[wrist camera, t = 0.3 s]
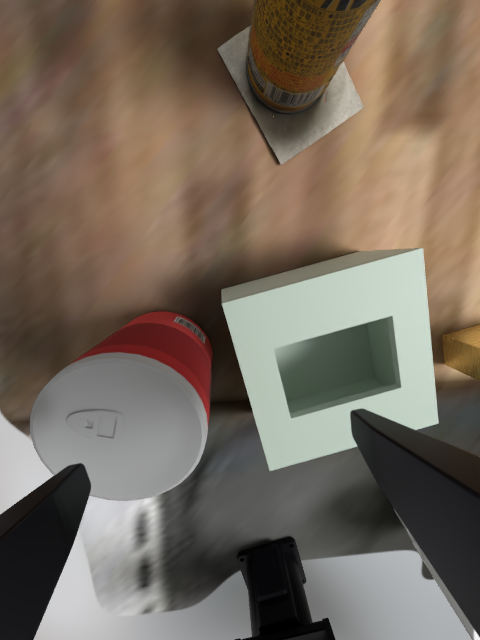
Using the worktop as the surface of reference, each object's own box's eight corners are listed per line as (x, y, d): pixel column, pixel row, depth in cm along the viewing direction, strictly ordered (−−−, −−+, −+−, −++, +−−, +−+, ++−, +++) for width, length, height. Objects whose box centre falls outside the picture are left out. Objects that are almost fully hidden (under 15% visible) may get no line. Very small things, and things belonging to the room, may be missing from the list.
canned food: (114, 310, 22) (9, 361, 11) (211, 307, 22) (203, 353, 11) (125, 394, 23) (44, 510, 13) (215, 390, 24) (210, 497, 13)
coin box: (378, 377, 25) (438, 423, 18) (256, 412, 25) (269, 471, 18) (359, 251, 22) (422, 248, 15) (221, 289, 22) (221, 303, 15)
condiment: (306, -16, 18) (476, -557, 6) (362, 109, 20) (573, -113, 8) (216, 51, 18) (210, -326, 6) (280, 166, 20) (363, 38, 8)
